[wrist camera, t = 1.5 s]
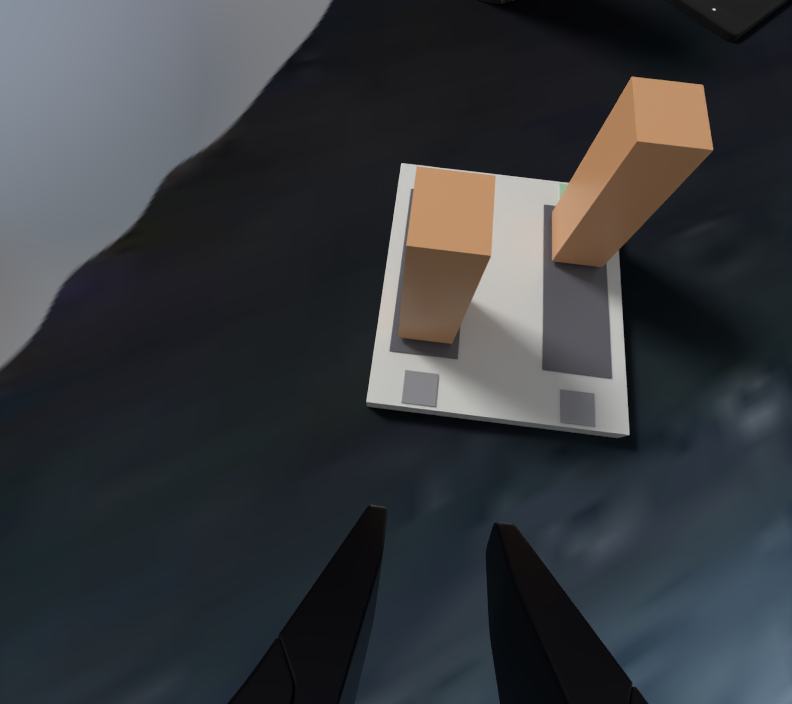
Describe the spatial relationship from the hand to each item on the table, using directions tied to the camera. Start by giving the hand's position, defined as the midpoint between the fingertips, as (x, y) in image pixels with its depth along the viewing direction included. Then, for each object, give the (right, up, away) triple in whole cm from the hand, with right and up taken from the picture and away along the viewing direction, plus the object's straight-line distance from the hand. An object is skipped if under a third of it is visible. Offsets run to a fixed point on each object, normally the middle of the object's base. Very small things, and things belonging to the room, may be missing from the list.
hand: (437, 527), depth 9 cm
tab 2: (+10, +11, +17) cm, 22 cm away
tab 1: (+1, +6, +15) cm, 16 cm away
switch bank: (+5, +7, +17) cm, 19 cm away
